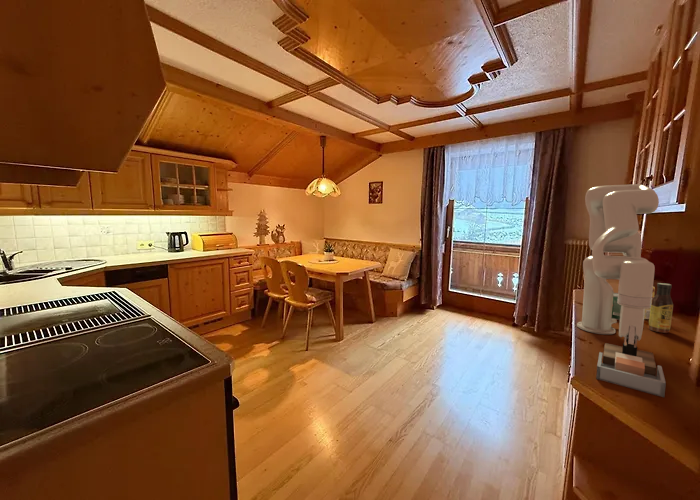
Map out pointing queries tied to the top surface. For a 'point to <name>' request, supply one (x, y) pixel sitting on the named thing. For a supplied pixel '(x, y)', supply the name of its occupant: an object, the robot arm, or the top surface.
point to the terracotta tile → (630, 366)
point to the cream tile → (627, 357)
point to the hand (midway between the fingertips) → (628, 357)
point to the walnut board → (646, 356)
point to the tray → (632, 378)
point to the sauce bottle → (661, 309)
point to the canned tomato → (615, 307)
